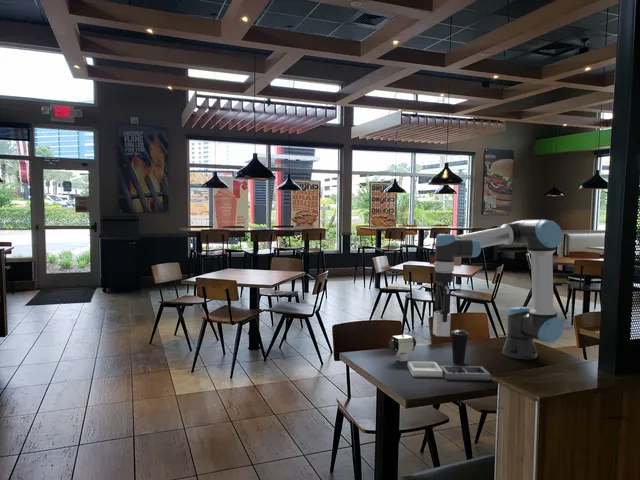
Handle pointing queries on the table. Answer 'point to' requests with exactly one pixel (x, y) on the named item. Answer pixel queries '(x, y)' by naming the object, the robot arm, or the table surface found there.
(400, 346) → the pneumatic valve
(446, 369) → the gray divided tray
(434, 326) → the white block
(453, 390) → the table surface
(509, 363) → the table surface
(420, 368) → the tray
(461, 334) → the drinking cup
